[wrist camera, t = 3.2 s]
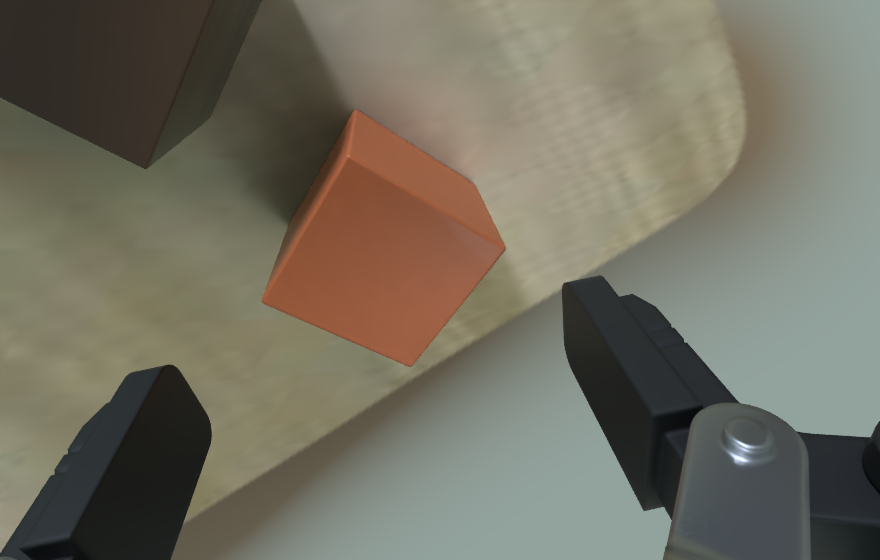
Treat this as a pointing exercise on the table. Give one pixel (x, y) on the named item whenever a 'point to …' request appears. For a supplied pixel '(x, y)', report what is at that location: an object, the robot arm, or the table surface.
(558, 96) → the table surface
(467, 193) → the block
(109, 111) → the block
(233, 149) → the table surface
